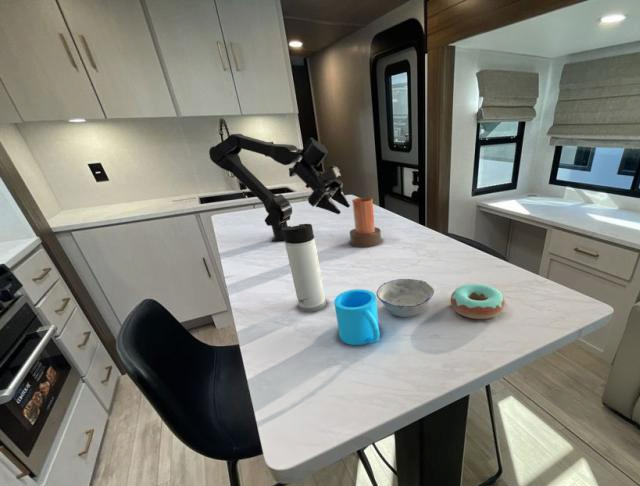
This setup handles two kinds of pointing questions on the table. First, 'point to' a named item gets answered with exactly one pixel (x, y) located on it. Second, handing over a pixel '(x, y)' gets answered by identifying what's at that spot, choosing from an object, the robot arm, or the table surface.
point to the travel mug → (304, 266)
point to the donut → (477, 301)
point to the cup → (363, 215)
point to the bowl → (405, 296)
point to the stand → (365, 238)
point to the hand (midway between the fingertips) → (344, 209)
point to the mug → (357, 317)
